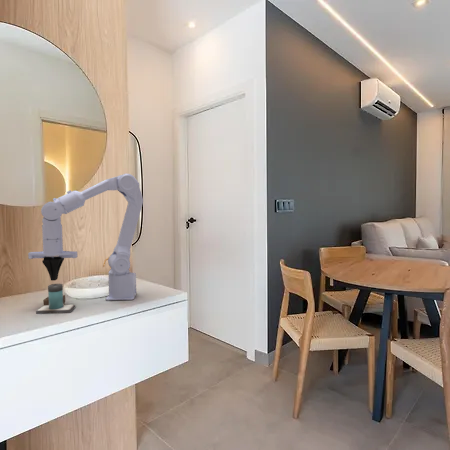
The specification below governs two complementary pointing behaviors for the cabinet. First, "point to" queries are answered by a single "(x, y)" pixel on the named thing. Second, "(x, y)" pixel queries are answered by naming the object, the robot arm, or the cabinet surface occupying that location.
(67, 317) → the cabinet surface
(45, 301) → the button collar
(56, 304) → the cylinder
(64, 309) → the drawing pad
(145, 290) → the cabinet surface
